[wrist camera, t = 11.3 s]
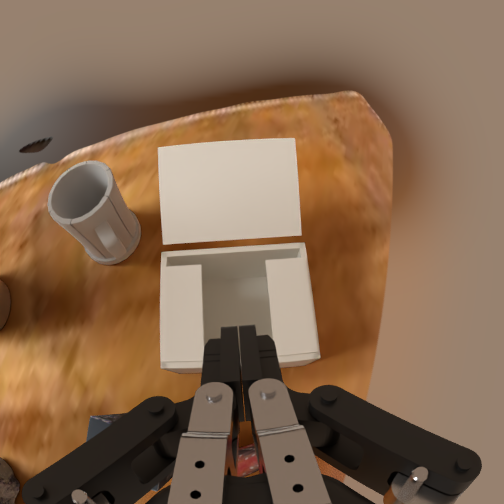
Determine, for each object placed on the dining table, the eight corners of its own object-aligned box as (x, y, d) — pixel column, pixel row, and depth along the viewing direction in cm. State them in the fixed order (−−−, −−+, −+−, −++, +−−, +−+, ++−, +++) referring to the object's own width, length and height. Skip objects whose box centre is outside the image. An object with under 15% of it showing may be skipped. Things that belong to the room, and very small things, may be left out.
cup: (161, 220, 45) (138, 166, 34) (137, 278, 41) (102, 237, 30) (102, 206, 46) (70, 156, 35) (77, 258, 42) (34, 217, 31)
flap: (301, 235, 33) (294, 138, 32) (163, 244, 32) (157, 147, 31) (300, 235, 33) (293, 139, 32) (164, 244, 33) (159, 149, 32)
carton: (305, 365, 37) (321, 357, 28) (179, 373, 36) (159, 367, 28) (294, 271, 42) (305, 240, 33) (177, 279, 41) (160, 249, 33)
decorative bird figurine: (182, 461, 31) (160, 483, 22) (320, 407, 34) (344, 411, 25) (192, 482, 30) (174, 508, 21) (330, 427, 33) (356, 437, 24)
